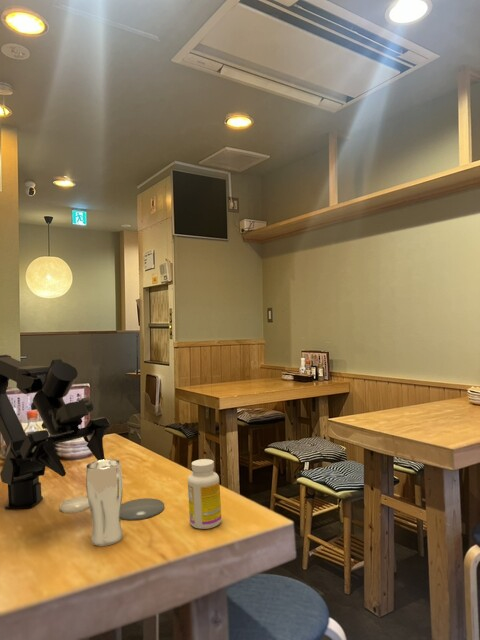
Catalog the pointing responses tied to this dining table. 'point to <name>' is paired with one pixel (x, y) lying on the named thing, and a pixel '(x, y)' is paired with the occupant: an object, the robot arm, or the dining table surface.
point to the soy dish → (74, 505)
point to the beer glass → (105, 500)
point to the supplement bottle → (204, 495)
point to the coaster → (141, 509)
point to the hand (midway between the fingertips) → (84, 468)
